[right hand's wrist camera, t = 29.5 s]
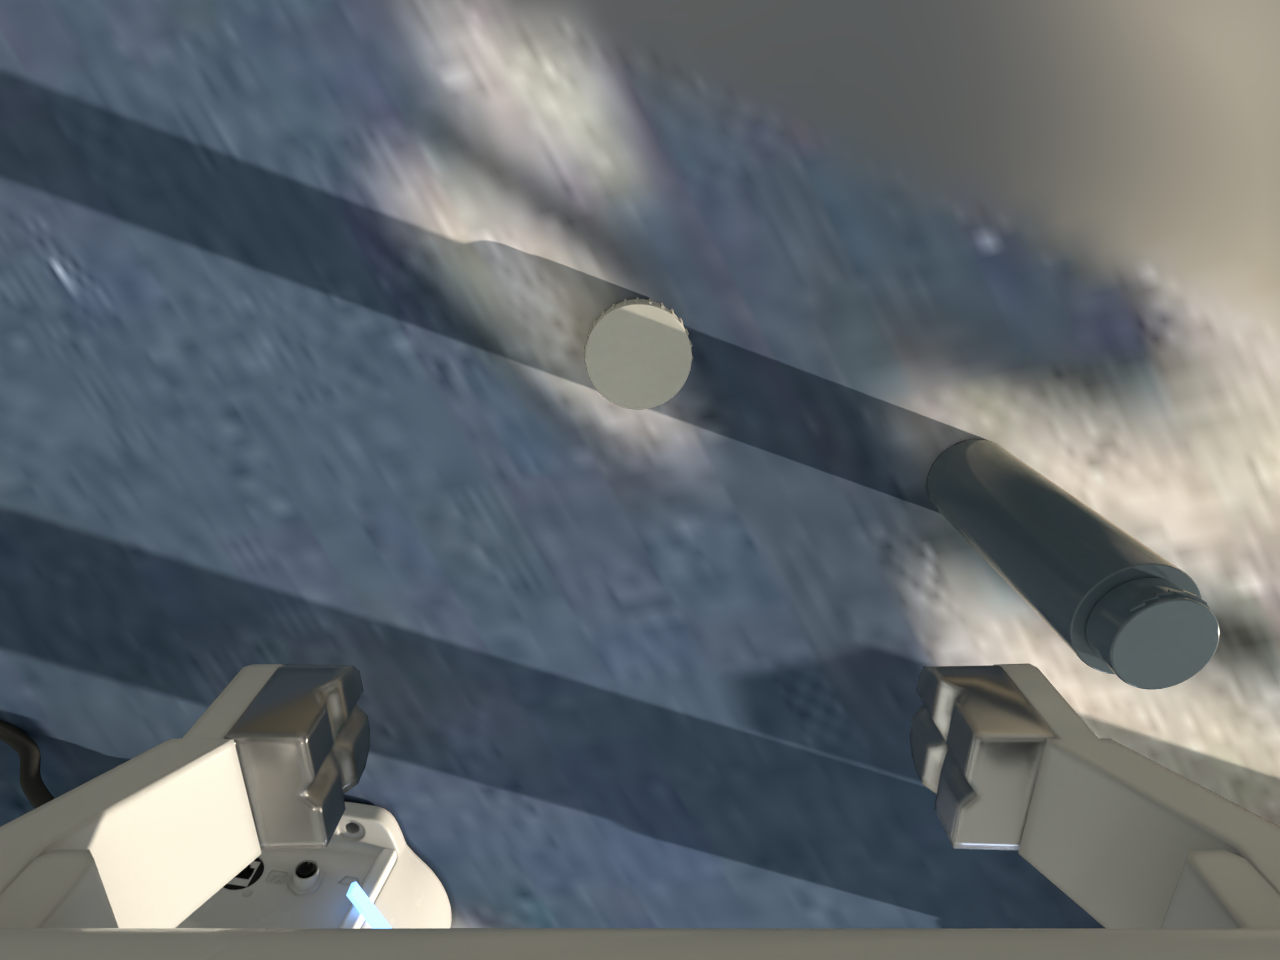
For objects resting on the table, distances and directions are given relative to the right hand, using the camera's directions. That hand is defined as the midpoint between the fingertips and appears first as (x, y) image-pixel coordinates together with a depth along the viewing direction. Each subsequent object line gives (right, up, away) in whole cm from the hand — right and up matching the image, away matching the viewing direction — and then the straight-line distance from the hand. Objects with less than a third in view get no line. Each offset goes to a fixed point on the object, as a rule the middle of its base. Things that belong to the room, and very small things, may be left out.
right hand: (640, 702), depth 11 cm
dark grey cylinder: (+17, +3, +27) cm, 32 cm away
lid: (0, +9, +23) cm, 25 cm away
